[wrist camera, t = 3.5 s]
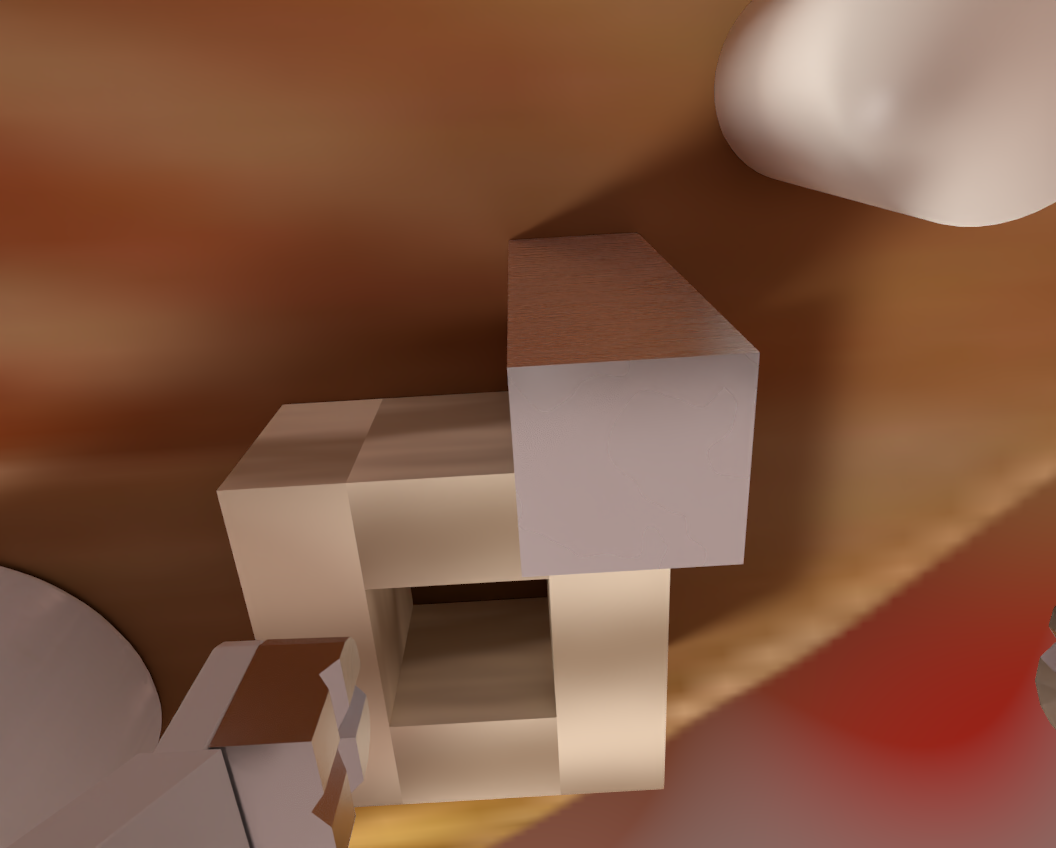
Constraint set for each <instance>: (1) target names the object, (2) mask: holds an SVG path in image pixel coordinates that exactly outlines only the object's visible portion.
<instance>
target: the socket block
mask: <svg viewBox="0 0 1056 848" xmlns="http://www.w3.org/2000/svg"><path fill="white" fill-rule="evenodd" d="M216 492H217V495H218V499H219V503H220V507H221V511H222V514H223V518H224V522H225V526H226V530H227V533H228V537H229V541H230V545H231V549H232V553H233V556H234V560H235V564H236V568H237V572H238V575H239V579H240V583H241V587H242V591H243V594H244V598H245V602H246V606H247V610H248V614H249V617H250V621H251V625H252V629H253V633H254V636H255V640H263V641H266V640H267V639H295V638H324V637H351V638H352V639H353V640H354V641H355V642H356V645H357V649H358V654H359V658H360V663H361V666H360V670H359V674H358V677H357V681H356V684H355V685H356V686H357V687H358V688H359V689H361V690H362V691H363V692H364V693H365V694H366V695H367V701H368V706H369V713H370V731H371V733H370V746H369V758H368V763H367V768H366V772H365V777H364V781H363V782H362V783H361V784H360V785H359V786H358V787H357V788H356V789H355V790H354V791H353V792H352V793H351V795H352V800H353V805H354V807H364V806H381V805H398V804H415V803H432V802H449V801H466V800H483V799H500V798H517V797H534V796H551V795H568V794H585V793H601V792H619V791H635V790H651V789H664V769H665V735H666V700H667V666H668V631H669V597H670V569H653V570H636V571H619V572H602V573H585V574H568V575H551V576H535V577H522V572H521V558H520V544H519V530H518V516H517V502H516V488H515V474H514V460H513V446H512V432H511V418H510V404H509V391H502V392H485V393H469V394H452V395H435V396H418V397H402V398H385V399H368V400H352V401H335V402H318V403H302V404H285V405H282V406H281V407H280V409H279V410H278V411H277V413H276V414H275V415H274V417H273V418H272V419H271V420H270V422H269V423H268V424H267V426H266V427H265V428H264V430H263V431H262V432H261V433H260V435H259V436H258V437H257V439H256V440H255V441H254V443H253V444H252V445H251V446H250V448H249V449H248V450H247V452H246V453H245V454H244V456H243V457H242V458H241V459H240V461H239V462H238V463H237V465H236V466H235V467H234V469H233V470H232V471H231V472H230V474H229V475H228V476H227V478H226V479H225V480H224V482H223V483H222V484H221V486H220V487H219V488H218V489H217V491H216ZM536 579H547V596H548V597H541V598H524V599H507V600H490V601H473V602H457V603H440V604H423V605H413V600H412V593H411V587H419V586H435V585H452V584H469V583H486V582H503V581H520V580H536Z"/></svg>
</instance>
